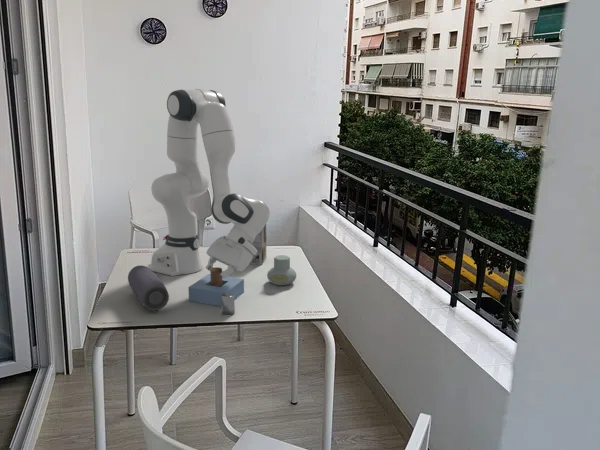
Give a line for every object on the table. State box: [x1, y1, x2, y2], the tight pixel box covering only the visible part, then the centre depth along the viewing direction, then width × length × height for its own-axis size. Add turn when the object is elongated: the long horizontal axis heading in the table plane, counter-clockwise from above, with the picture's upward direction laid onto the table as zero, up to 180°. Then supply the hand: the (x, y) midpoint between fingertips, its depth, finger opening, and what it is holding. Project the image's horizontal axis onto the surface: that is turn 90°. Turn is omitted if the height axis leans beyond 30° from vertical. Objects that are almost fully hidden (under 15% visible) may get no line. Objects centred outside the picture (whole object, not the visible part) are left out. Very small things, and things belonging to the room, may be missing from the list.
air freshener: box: [266, 254, 297, 287], centre depth 192 cm, size 11×8×10 cm
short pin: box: [221, 293, 236, 316], centre depth 165 cm, size 4×4×6 cm
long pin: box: [209, 267, 223, 287], centre depth 178 cm, size 4×4×10 cm
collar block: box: [187, 273, 245, 307], centre depth 179 cm, size 14×14×5 cm
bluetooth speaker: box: [127, 265, 170, 311], centre depth 173 cm, size 23×9×10 cm, turn 30°
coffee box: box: [248, 223, 267, 266], centre depth 216 cm, size 9×6×16 cm
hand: (214, 273), depth 177 cm, fingers open, 8 cm apart
